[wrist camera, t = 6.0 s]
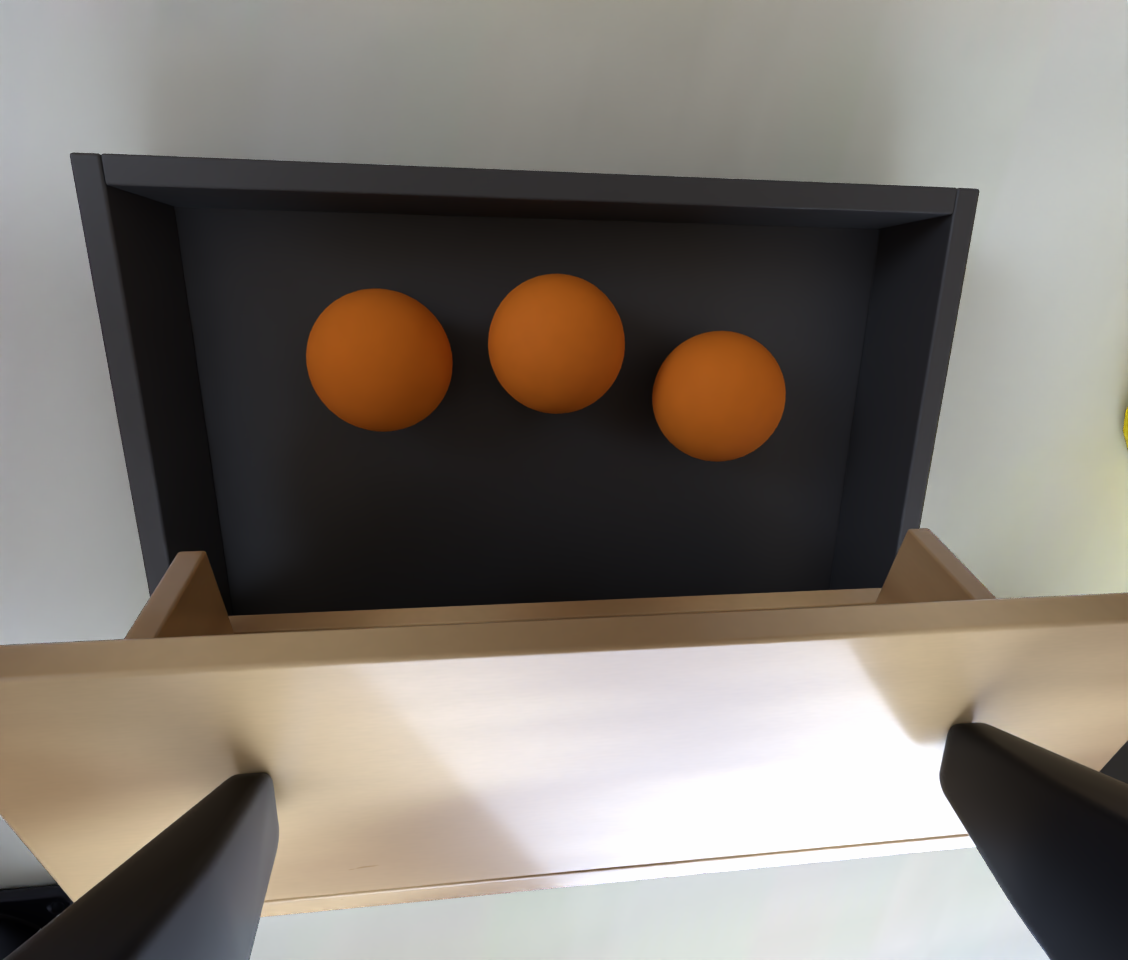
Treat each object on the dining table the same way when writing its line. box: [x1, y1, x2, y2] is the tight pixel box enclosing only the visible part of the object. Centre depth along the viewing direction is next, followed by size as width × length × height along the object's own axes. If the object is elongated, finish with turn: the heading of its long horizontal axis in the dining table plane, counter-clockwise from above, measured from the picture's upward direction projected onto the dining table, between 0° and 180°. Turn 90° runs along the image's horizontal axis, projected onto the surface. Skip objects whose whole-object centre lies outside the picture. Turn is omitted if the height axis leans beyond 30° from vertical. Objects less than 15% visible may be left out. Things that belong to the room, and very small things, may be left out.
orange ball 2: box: [488, 274, 625, 414], centre depth 16 cm, size 4×4×4 cm
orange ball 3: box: [652, 331, 786, 462], centre depth 17 cm, size 4×4×4 cm
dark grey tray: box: [70, 153, 979, 616], centre depth 17 cm, size 20×13×4 cm, turn 89°
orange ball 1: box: [306, 288, 453, 432], centre depth 15 cm, size 4×4×4 cm
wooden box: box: [0, 528, 1128, 917], centre depth 11 cm, size 15×6×6 cm
